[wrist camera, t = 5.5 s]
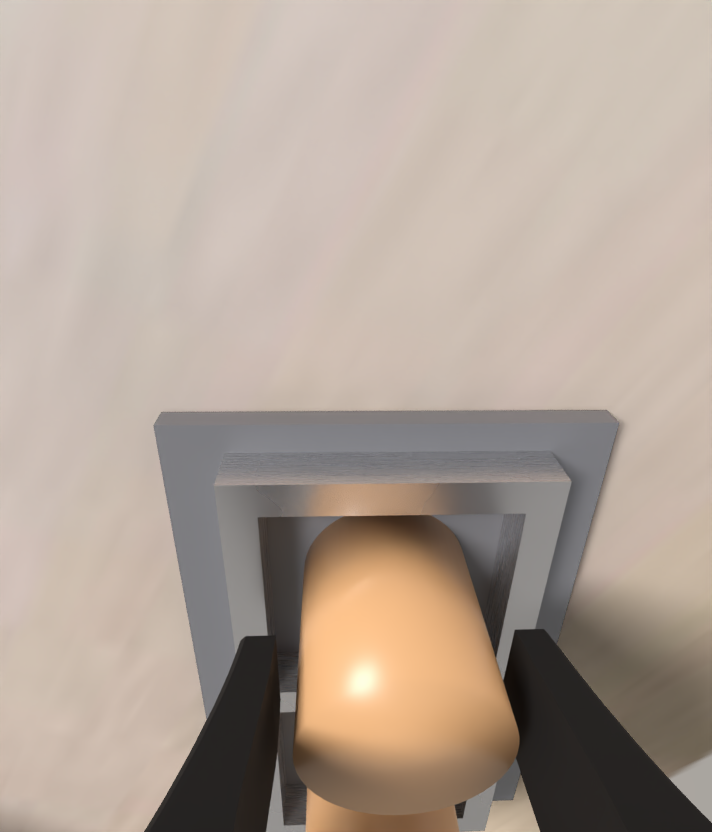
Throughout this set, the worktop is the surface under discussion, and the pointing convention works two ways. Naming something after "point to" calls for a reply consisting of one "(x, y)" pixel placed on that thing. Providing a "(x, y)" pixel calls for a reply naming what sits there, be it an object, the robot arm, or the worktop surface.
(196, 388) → the worktop surface
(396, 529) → the peach rounded capsule
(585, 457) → the frame
